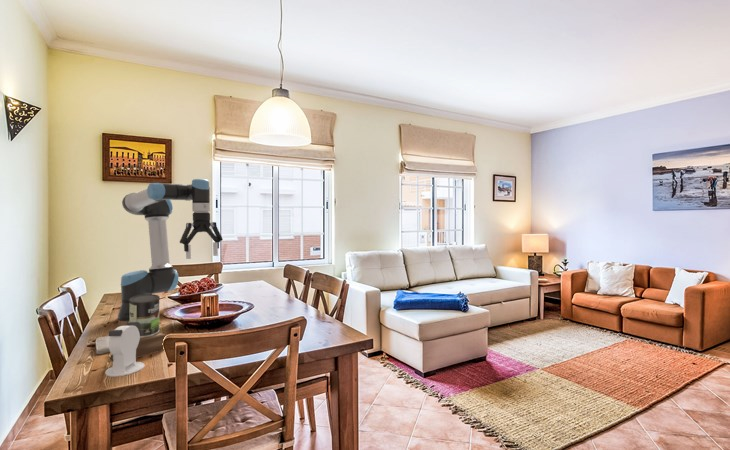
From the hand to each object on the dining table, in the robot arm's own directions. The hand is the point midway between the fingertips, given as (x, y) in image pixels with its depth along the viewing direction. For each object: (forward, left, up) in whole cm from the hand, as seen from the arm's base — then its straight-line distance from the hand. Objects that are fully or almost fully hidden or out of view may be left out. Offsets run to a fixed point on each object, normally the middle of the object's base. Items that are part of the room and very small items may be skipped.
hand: (202, 257), depth 176 cm
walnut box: (+10, -32, -33) cm, 47 cm away
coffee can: (+9, -30, -26) cm, 41 cm away
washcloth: (-6, -36, -33) cm, 49 cm away
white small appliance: (+24, -43, -33) cm, 59 cm away
